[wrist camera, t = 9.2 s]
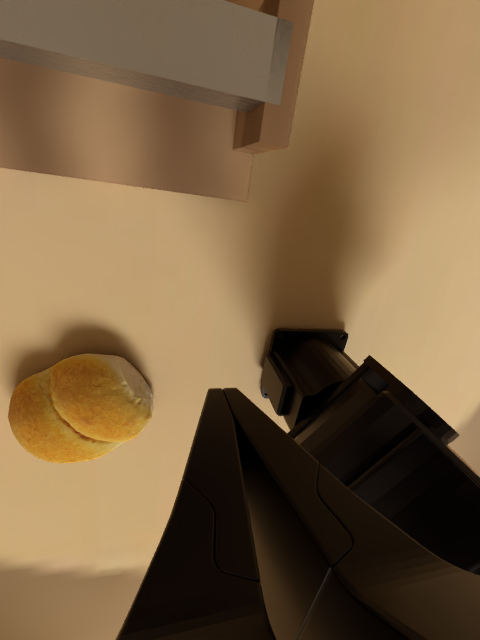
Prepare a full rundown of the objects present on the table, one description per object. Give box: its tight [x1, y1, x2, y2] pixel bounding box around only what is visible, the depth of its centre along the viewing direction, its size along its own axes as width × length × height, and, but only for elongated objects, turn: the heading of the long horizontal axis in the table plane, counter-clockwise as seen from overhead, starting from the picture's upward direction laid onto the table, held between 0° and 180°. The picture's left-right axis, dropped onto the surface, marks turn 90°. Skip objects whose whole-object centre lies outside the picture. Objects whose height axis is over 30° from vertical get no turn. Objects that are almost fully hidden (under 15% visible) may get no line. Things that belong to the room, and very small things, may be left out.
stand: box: [0, 0, 314, 202], centre depth 11 cm, size 20×10×6 cm, turn 81°
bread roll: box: [8, 353, 153, 463], centre depth 21 cm, size 8×9×4 cm
